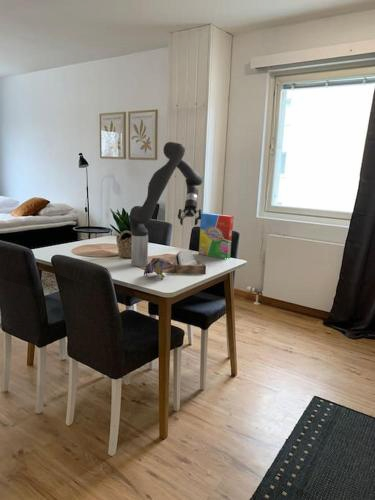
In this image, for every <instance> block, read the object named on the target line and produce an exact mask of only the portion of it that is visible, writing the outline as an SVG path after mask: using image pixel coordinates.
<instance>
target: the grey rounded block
mask: <svg viewBox="0 0 375 500" xmlns="http://www.w3.org/2000/svg"><path fill="white" fill-rule="evenodd" d="M174 262H175V263H176V265H198V263H197V262H198V261H197V260H196V259H195V257H194V254H193V251H192V250H191V249H184V250H180V251H179V252H177V253H175V255H174Z"/></svg>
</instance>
